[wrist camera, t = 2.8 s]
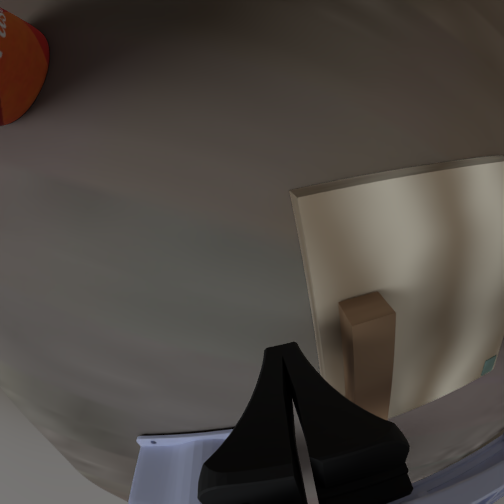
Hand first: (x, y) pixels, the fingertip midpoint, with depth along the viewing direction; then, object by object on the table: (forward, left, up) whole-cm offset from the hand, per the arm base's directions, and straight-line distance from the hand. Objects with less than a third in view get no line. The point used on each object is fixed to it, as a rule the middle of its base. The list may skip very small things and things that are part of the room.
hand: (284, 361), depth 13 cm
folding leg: (+4, -4, -2) cm, 6 cm away
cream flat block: (+9, -2, -4) cm, 10 cm away
